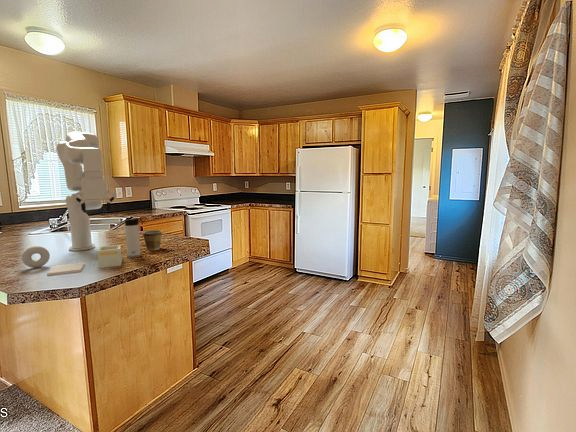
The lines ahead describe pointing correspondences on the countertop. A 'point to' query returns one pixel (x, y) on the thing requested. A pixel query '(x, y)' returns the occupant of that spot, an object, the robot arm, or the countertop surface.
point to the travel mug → (132, 238)
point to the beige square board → (66, 268)
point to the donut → (33, 250)
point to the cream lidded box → (109, 256)
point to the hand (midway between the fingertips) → (96, 211)
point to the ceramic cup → (152, 239)
